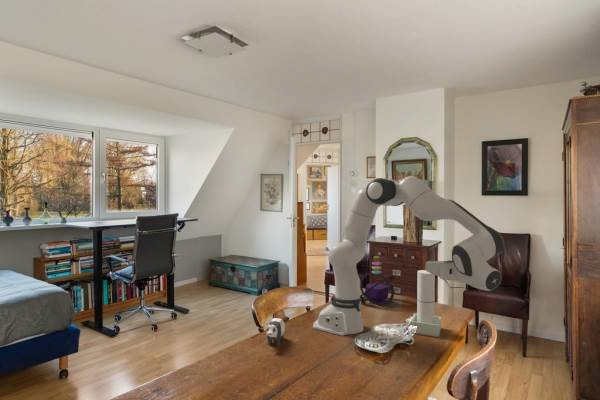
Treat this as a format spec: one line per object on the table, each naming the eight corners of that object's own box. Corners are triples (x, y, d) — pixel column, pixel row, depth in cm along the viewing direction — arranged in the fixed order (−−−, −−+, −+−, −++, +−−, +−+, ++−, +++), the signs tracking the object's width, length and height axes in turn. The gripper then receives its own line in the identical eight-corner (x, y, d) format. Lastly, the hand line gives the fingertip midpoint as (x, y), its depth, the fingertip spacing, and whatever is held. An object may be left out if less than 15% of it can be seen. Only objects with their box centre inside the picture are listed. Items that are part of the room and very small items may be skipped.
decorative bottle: (369, 293, 218) (369, 252, 218) (403, 300, 205) (403, 256, 204) (349, 302, 201) (349, 257, 200) (384, 310, 188) (385, 262, 187)
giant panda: (272, 335, 156) (272, 313, 156) (285, 336, 155) (285, 314, 155) (262, 350, 142) (262, 325, 141) (276, 351, 140) (276, 326, 140)
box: (410, 332, 159) (410, 321, 159) (414, 324, 169) (414, 313, 169) (438, 337, 154) (439, 325, 154) (440, 327, 164) (441, 316, 164)
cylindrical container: (414, 328, 162) (414, 271, 161) (422, 324, 167) (422, 269, 166) (429, 333, 156) (429, 274, 156) (437, 328, 161) (437, 271, 161)
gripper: (485, 261, 141) (460, 254, 154) (439, 262, 135) (417, 255, 149) (484, 277, 141) (460, 269, 154) (438, 279, 136) (417, 271, 149)
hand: (439, 262), depth 151 cm, fingers open, 8 cm apart
